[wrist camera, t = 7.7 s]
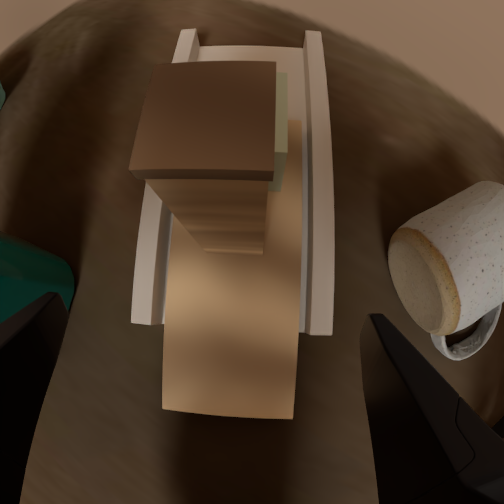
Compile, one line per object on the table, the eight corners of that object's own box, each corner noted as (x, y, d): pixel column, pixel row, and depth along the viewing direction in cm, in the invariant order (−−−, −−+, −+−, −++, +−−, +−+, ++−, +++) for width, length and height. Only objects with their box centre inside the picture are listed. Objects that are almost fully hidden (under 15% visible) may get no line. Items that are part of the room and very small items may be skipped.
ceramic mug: (365, 242, 21) (419, 209, 13) (449, 199, 21) (511, 161, 13) (422, 380, 19) (488, 405, 11) (497, 323, 19) (566, 322, 12)
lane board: (321, 331, 20) (332, 335, 17) (148, 321, 20) (130, 322, 17) (315, 55, 23) (320, 31, 21) (187, 53, 24) (181, 29, 21)
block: (280, 191, 19) (287, 152, 14) (197, 188, 19) (178, 150, 14) (281, 121, 20) (287, 72, 15) (206, 120, 20) (193, 72, 15)
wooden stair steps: (291, 413, 18) (335, 546, 5) (166, 404, 18) (57, 505, 6) (299, 128, 21) (330, -26, 9) (190, 125, 21) (139, -22, 9)
